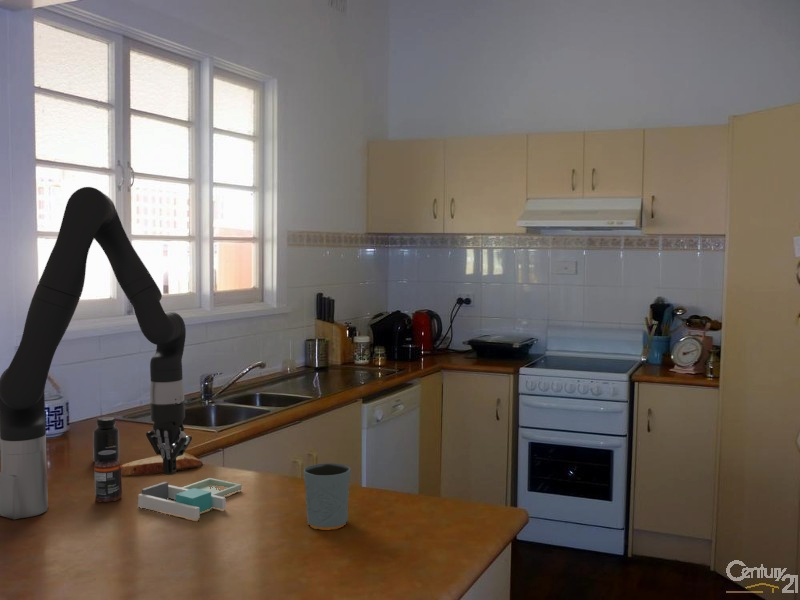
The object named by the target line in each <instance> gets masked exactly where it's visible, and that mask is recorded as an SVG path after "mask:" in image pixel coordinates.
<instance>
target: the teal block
mask: <svg viewBox="0 0 800 600" xmlns="http://www.w3.org/2000/svg"><path fill="white" fill-rule="evenodd" d="M175 500H176V501H175ZM175 500H174V501H175V502H179V503H183V504H187V505H191V506H196V507H199V511H200V512H202V511H205V510H207V509H210V508H211V492H209V491H205V490H201V489H196V488H193V489H190V490H187V491H184V492H181V493H178V494H175Z"/></svg>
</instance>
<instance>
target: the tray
mask: <svg viewBox="0 0 800 600" xmlns="http://www.w3.org/2000/svg"><path fill="white" fill-rule="evenodd" d="M209 485H210V486H211V485H213V486H212V487H213V488H212V487H211V489H210V487H209ZM214 485H215V486H214ZM216 485H217V486H224V487H228V488H226V489H224V490H221V491H219V490H218V488H217V490H216V488H215V487H216ZM242 486H243V485H242V484H240V483H235V482H231V481H226V480H222V479H218V478H212V477H208V478H205V479H203V480H199V481H197V482H193V483H191V484H187V485H185V486H182V487H181V488H185V489H193V488H196V489H201V490H205V491H209V492H211V494H212V495H216V496H221V497H222V496H224V495H227V494H229V493H232V492H235V491H238V490H241V489H243V488H242ZM219 489H220V488H219Z"/></svg>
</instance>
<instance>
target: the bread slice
mask: <svg viewBox="0 0 800 600" xmlns="http://www.w3.org/2000/svg"><path fill="white" fill-rule="evenodd" d="M203 465H204V464H203V461H202V460H200V459H199V458H197V457H196V456H195V455H192V454H190V453H188V452H186V451H185V452H184V454H183V455H181V456H178V457H177V458H176V467H177V470H178V471H183V470H182V469H185V470H188V469H187V468H190V469H194V467H195V468H198V466H199V467H201V466H203ZM177 470H176V472H177ZM160 473H161V474H163V473H164V470H163V458H162V457H161V455H154V456H153V455H152V456H150V457H145V458H142V459H136V460H133V461H130V462H125V463H124V464H122V465H121V476H137V475H138V476H139V475H151V474H160Z"/></svg>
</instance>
